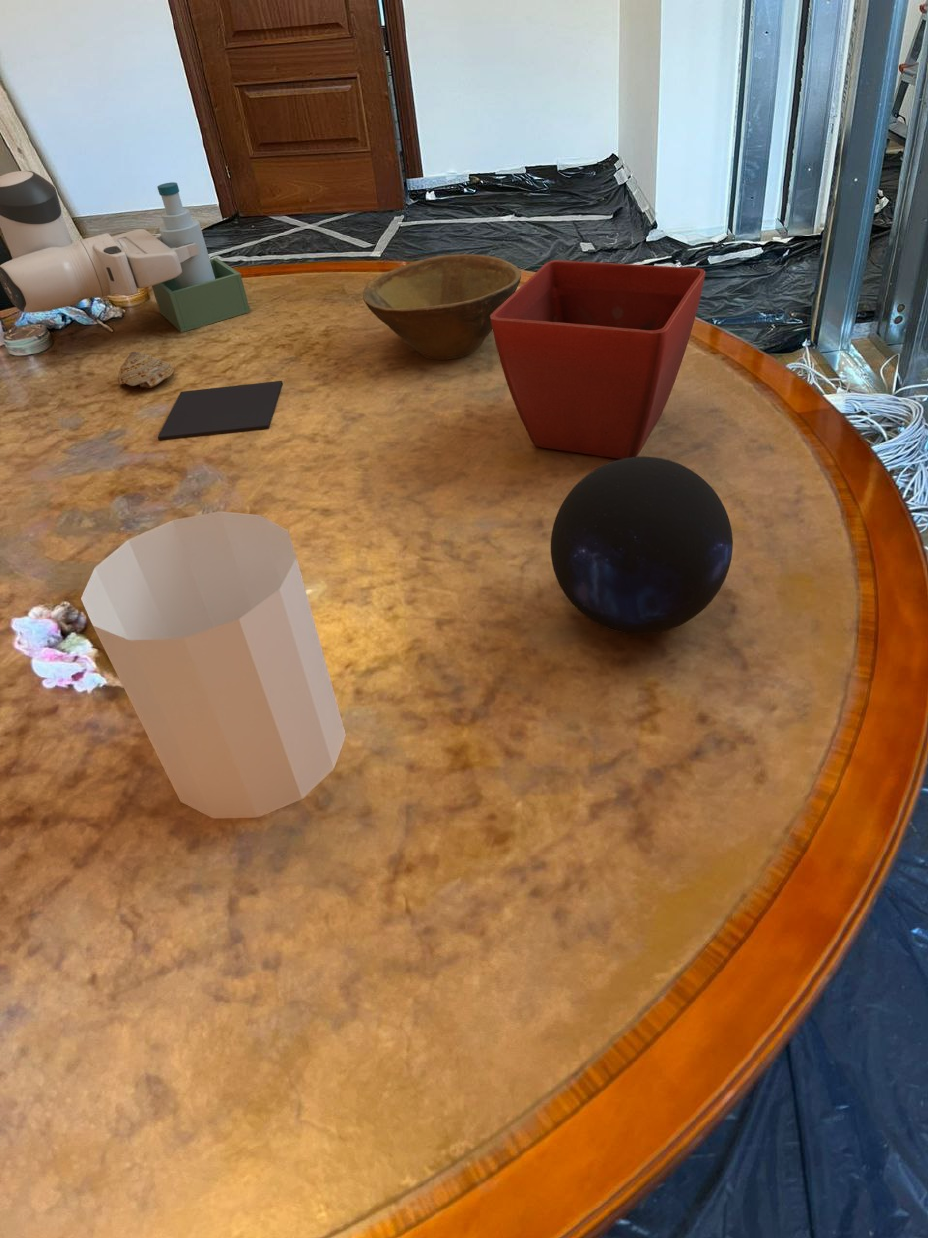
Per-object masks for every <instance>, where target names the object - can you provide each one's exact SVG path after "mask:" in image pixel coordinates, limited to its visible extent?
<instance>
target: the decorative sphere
mask: <svg viewBox="0 0 928 1238" xmlns="http://www.w3.org/2000/svg"><path fill="white" fill-rule="evenodd" d="M733 539H734V538H733V530H732V525H731V521H730V518H729V515H728V513H727V510H726V508H725V506H724V504H723V501H722V500H721V498H720V496H719V495H718V494H717V492H716V491H715V489H714V488H713V487H712V486H711V485H710V484H709V483H708V482H707V481H706V480H705V479H704V478H703V477H702V476H700V475H699V474H698V473H697V472H695V471H693V470H692V469H690V468H688V467H687V466H684V465H683V464H680V463H678V462H675V461H673V460H669V459H665V458H662V457H655V456H637V457H630V458H625V459H617V460H614V461H611V462H608V463H606V464H603V465H601V466H600V467H597V468H596V469H594V470H592V471H591V472H589V473H588V474H587V475H585V476H584V477H583V478H582V479H580V480H579V481H578V482H577V483H576V484H575V485H574V486H573V487H572V489H571V490H570V491H569V493H568V494H567V495H566V496H565V498H564V499H563V501H562V503H561V505H560V506H559V508H558V511H557V512H556V516H555V519H554V522H553V525H552V530H551V537H550V558H551V565H552V569H553V572H554V575H555V577H556V581H557V583H558V585H559V587H560V589H561V590H562V592H563V593H564V595H565V597H566V598H567V600H568V601H569V602H570V604H571V605H572V606H573V607H574V608H575V609H576V610H577V611H578V612H580V614H582V615H583V616H584V617H586V618H587V619H589V620H590V621H592V622H593V623H595V624H597V625H599V626H601V627H604V628H606V629H608V630H611V631H614V632H618V633H623V634H629V635H630V634H631V635H651V634H656V633H663V632H665V631H669V630H672V629H674V628H677V627H680V626H682V625H684V624H685V623H688V622H689V621H690V620H692V619H693V618H695V617H696V616H697V615H699V614H700V613H702V611H704V610H705V609H706V608H707V607H708V606H709V605H710V603H711V602H712V601H713V600H714V598H715V597H716V596H717V595H718V593H719V592H720V590H721V588H722V586H723V584H724V583H725V580H726V578H727V576H728V573H729V570H730V566H731V562H732V556H733V548H734V547H733V546H734V540H733Z"/></svg>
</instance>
